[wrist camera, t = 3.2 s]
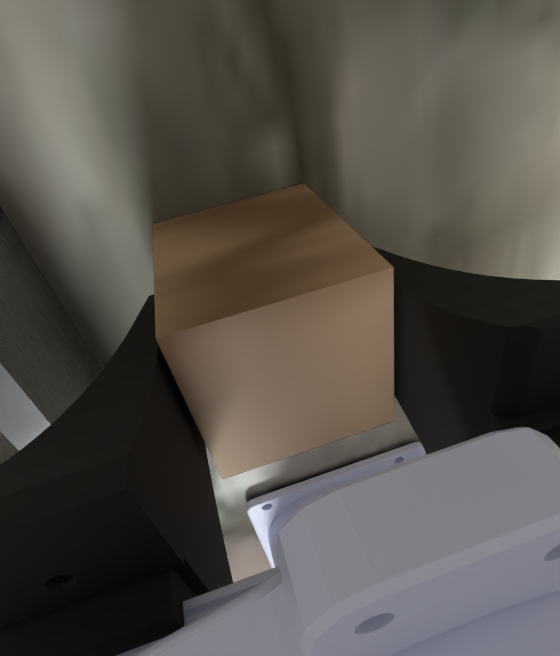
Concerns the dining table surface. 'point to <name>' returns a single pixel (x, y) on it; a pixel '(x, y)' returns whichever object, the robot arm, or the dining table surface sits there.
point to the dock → (35, 347)
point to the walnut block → (274, 326)
